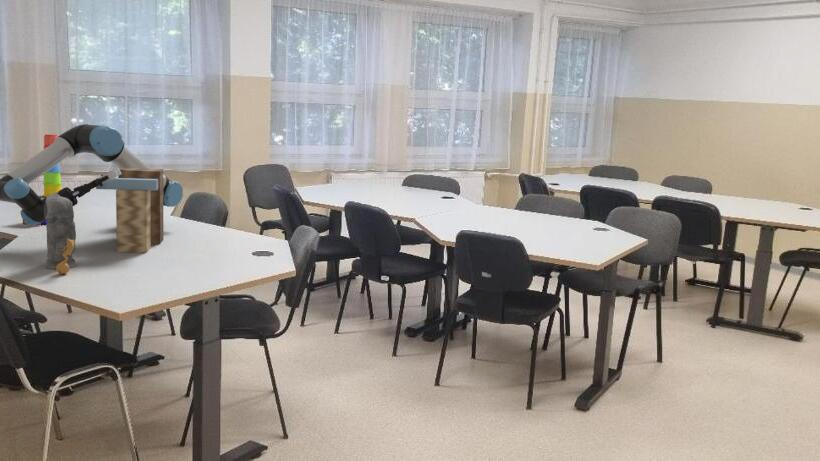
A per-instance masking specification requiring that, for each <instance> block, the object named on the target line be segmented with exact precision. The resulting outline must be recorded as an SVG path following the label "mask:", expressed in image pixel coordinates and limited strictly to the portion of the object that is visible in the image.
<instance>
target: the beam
mask: <svg viewBox="0 0 820 461" xmlns="http://www.w3.org/2000/svg"><path fill="white" fill-rule="evenodd" d="M97 178H98V177H96V178H95V180H96V179H97ZM101 183H102V182H101ZM102 185H103V186H100V185H99V186H97V187H95V189H96V190H115V191H116V190H156V191H157V190H158V179H136V178H118V177H115V178H113V179H111V180H109V181H107V182H105V183H103V184H102Z"/></svg>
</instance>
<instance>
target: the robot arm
mask: <svg viewBox="0 0 820 461" xmlns="http://www.w3.org/2000/svg"><path fill="white" fill-rule="evenodd" d="M57 136H58V135H57ZM82 153H85V154H93V155H95V156H96V157H98V158H99V159H100V160H101V161H103V162H104V163H111V164H113V165H114V166H115V167H116V169H113V170H110V171H109V172H106V173H105V174H101V175H100V176H98V177H96V178H97V179H96V178H95V179H93V180H92V181H90V182H88V183H84V184H82V185H80V186H79V185H78V186H76V187H74V188H72V189H73V190H72V189H71V188H70V187H67V186H66V187H64V188H61V190H60V191H58V192H55V193H53V194H51V195H49V196H47V197H43V198H41V197H40V196H39V195H38V193H37V192H35V190H34V189H33V188H32V187H30V186H31V185H30V184H31V183H33V182H34V181H36V180H37V179H38V178H39V177H41V176H44V173H45V172H47V171H48V170H50V169H51V168H53V167H54V166H55V165H57V164H58V163H61V162H62V161H64V160H65V159H67V158H73V157H75V156H76V155H78V154H82ZM121 168H141V169H152V167H149V166H148V164H146V163H145V162H144V161H142V160H141V159H140V158H139V157H138V156H136V155H135V154H134V153H133V152H132V151H131V150H129V149H128V148H127V147H126V145H125V141H124V140H123V136H122V134H121V133H120V131H118V130H117V129H116V128H114V127H111V126H109V125H97V124H96V125H95V124H89V123H87V124H85V123H82V124H79V125H76V126H74V127H71V128H70V129H68V130H66V131H64V132H63V133H61V134H59V136H58V137H57V138H55V142H54V143H53V144H51V145H50V146H48V147H47V148H45V149H44V148H43V149H42V150H40V152H38V153H36V154H35V155H33V156H32V157H30V158H29V159H27V160H26V161H24V162H23V163H22V164H21V165H20V164H19V166H17V167H16V168H14V169H13V170H11V171H10V172H9V173H6V174H5V175H4V176H2V177H1V178H0V201H1V202H7V203H12V204H16V205H18V207H19V208H20V209H21V210H20V216H21V219H22V221H23V220H24V221H25V223H26V224H25V225H28V226H30V227H34V226H38V225H37V224H39V223H42V222H43V221H45V220H47V219H45V216H44V207H45V200H47V199H49V198H51V197H55V196H56V195H60V196H61V197H64V198H67V199H69V200H70V201H71V202H72V206H73V207H75V206H76V205H78V202H79V201H78V199H77V198H81V197H83V196H85V195H86V194H88V193H90V192H91V190H92V189H96V187H97V186H99V185H100V186H103V185H102V184H103V183H105V182H107V181H109V180H111V179H113V178H118V176H119V175H121V174H122V173H121V172H120V170H119V169H121ZM101 182H102V183H101ZM183 196H184V188H183V185H182V184H181V183H180V182H178V181H177V180H176V181H175V180H172V179H170V178H168V177H167V175H165V174H163V207H164V206H165V207H167V208H172V207H176V206H178V205H179V204H180V203H181V201H182V200H183V198H184V197H183Z"/></svg>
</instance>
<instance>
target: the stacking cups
mask: <svg viewBox="0 0 820 461" xmlns="http://www.w3.org/2000/svg"><path fill="white" fill-rule="evenodd" d="M57 137H58V134H44V135H43V150H44V149H45V148H47V147H48V146H50V145H51V144H53V143H54V142H55V138H57ZM60 163H61V162H60ZM60 163H58V164H57V165H55V166H54V167H53V168H51V169H50V170H48V171H47V172H45V173H44V174H43V182H42V185H43V195H42V197H43V198H46V197H47V196H49V195H51V194H53V193H55V192H58V191H60V190H61V189H62V184H63V182H62V181H61V180H62V178H61V173H62V171H61V165H60Z"/></svg>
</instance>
